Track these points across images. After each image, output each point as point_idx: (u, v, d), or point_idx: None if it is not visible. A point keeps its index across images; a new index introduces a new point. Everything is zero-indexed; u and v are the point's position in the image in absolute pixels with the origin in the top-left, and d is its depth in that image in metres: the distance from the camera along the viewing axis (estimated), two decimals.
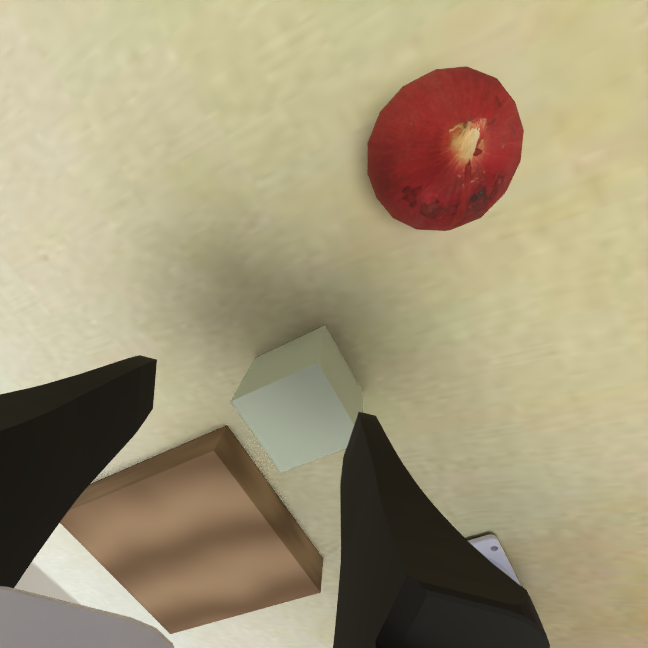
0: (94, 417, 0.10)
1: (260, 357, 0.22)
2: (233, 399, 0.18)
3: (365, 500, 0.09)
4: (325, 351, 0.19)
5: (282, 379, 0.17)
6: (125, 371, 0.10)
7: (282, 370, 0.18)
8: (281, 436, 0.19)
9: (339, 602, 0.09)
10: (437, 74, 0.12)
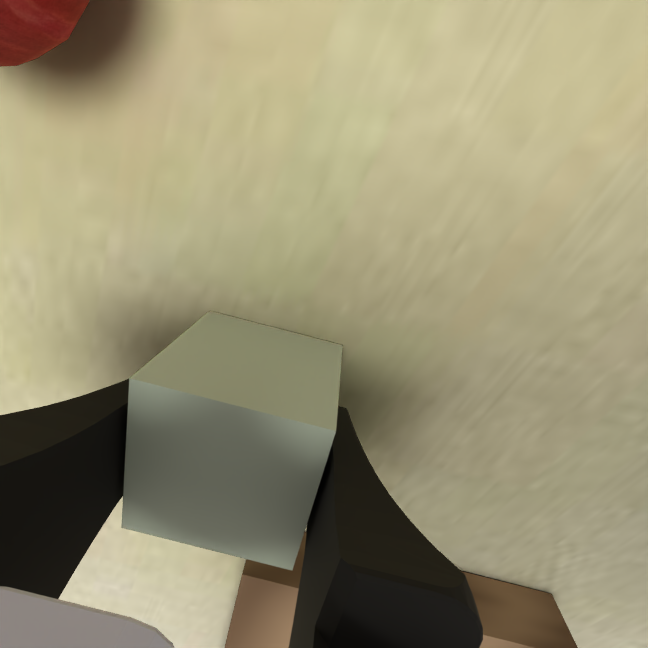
0: None
1: None
2: (123, 521, 0.10)
3: (325, 490, 0.09)
4: (187, 346, 0.10)
5: (128, 444, 0.09)
6: None
7: None
8: (227, 520, 0.10)
9: (299, 592, 0.09)
10: None
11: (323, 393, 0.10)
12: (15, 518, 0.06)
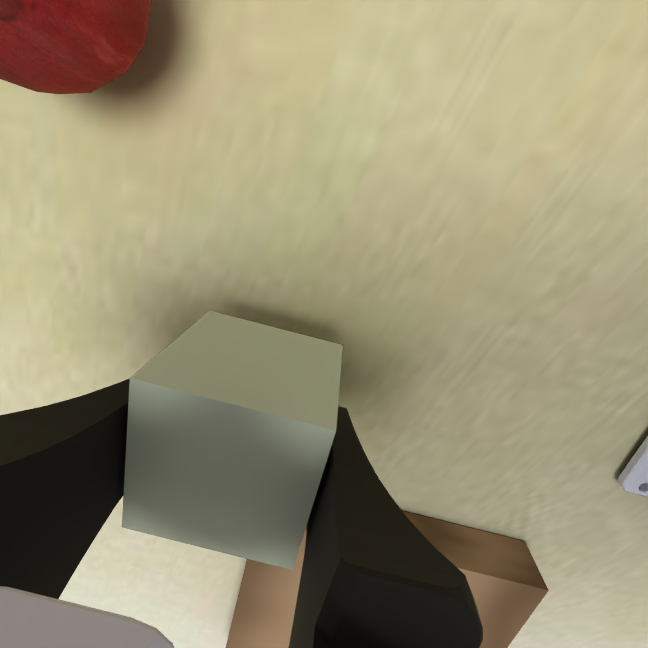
0: None
1: None
2: (124, 520, 0.10)
3: (325, 490, 0.09)
4: (187, 345, 0.10)
5: (129, 444, 0.09)
6: None
7: None
8: (227, 521, 0.10)
9: (299, 592, 0.09)
10: None
11: (323, 393, 0.10)
12: (15, 518, 0.06)
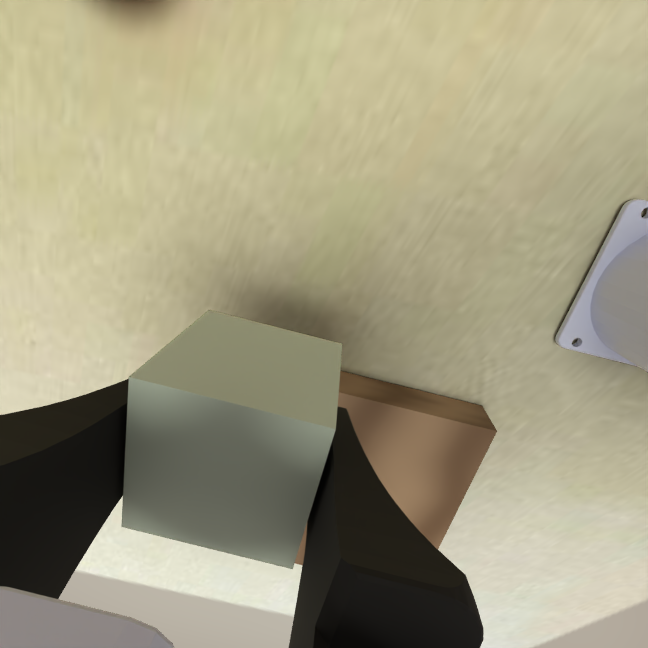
0: None
1: None
2: None
3: (325, 490, 0.09)
4: (186, 344, 0.10)
5: (128, 443, 0.09)
6: None
7: None
8: (227, 519, 0.10)
9: (299, 592, 0.09)
10: None
11: (323, 391, 0.10)
12: (15, 518, 0.06)
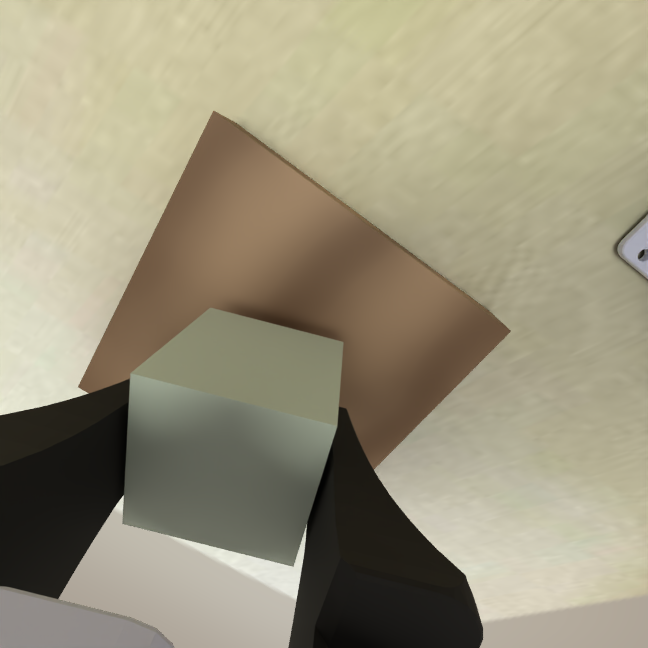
0: None
1: None
2: None
3: (325, 490, 0.09)
4: (188, 342, 0.10)
5: (129, 440, 0.09)
6: None
7: None
8: (228, 517, 0.10)
9: (299, 592, 0.09)
10: None
11: (324, 389, 0.10)
12: (15, 518, 0.06)
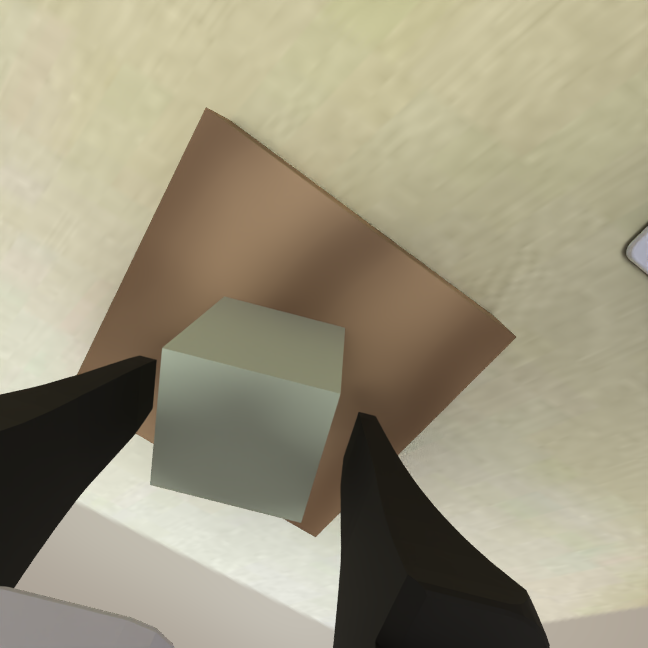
0: (94, 417, 0.10)
1: None
2: (152, 479, 0.12)
3: (365, 500, 0.09)
4: (207, 324, 0.12)
5: (159, 407, 0.10)
6: (125, 371, 0.10)
7: None
8: (244, 477, 0.11)
9: (339, 602, 0.09)
10: None
11: (328, 365, 0.11)
12: None
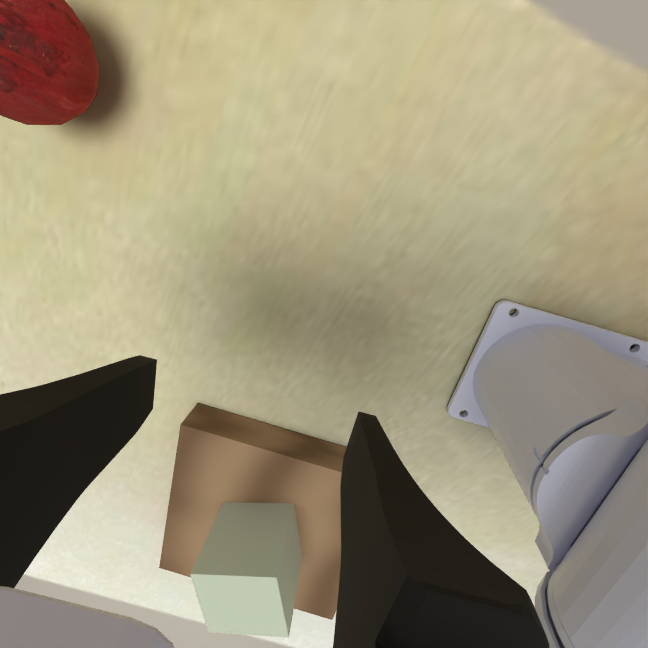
0: (94, 417, 0.10)
1: None
2: (208, 628, 0.22)
3: (365, 500, 0.09)
4: (212, 540, 0.22)
5: (199, 597, 0.21)
6: (125, 371, 0.10)
7: None
8: (251, 621, 0.21)
9: (339, 602, 0.09)
10: None
11: (275, 552, 0.21)
12: None
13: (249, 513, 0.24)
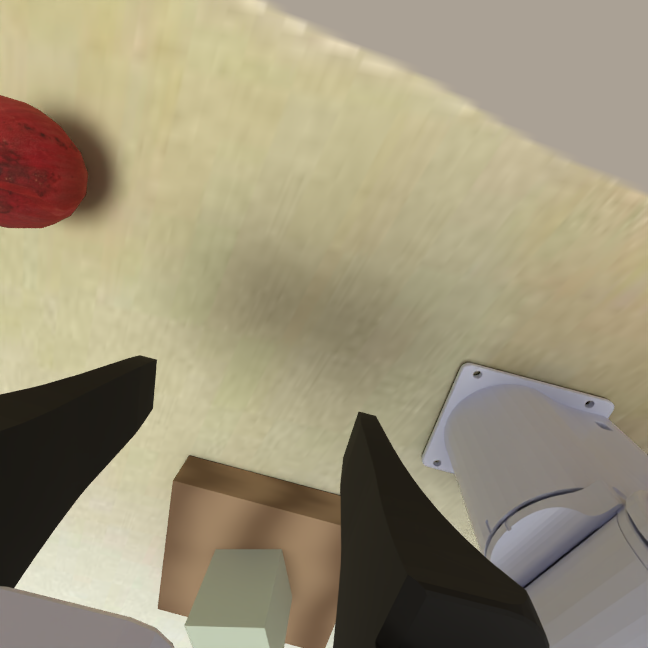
0: (94, 417, 0.10)
1: None
2: None
3: (365, 500, 0.09)
4: (205, 589, 0.24)
5: (193, 646, 0.22)
6: (125, 371, 0.10)
7: None
8: None
9: (339, 602, 0.09)
10: None
11: (263, 601, 0.23)
12: None
13: (240, 560, 0.25)
